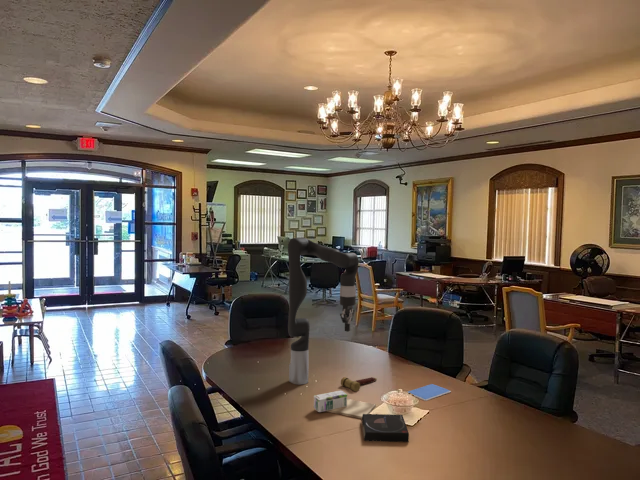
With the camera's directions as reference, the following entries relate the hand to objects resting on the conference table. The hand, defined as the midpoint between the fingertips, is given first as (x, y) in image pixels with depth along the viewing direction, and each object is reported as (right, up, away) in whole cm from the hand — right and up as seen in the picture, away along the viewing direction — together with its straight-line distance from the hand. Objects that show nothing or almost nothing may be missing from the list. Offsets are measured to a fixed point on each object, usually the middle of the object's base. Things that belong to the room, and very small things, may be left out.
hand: (347, 331), depth 218 cm
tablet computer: (+41, -33, +8) cm, 53 cm away
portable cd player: (+13, -34, -34) cm, 50 cm away
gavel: (+9, -32, +19) cm, 38 cm away
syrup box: (-2, -29, -9) cm, 30 cm away
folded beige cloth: (0, -33, -11) cm, 35 cm away
